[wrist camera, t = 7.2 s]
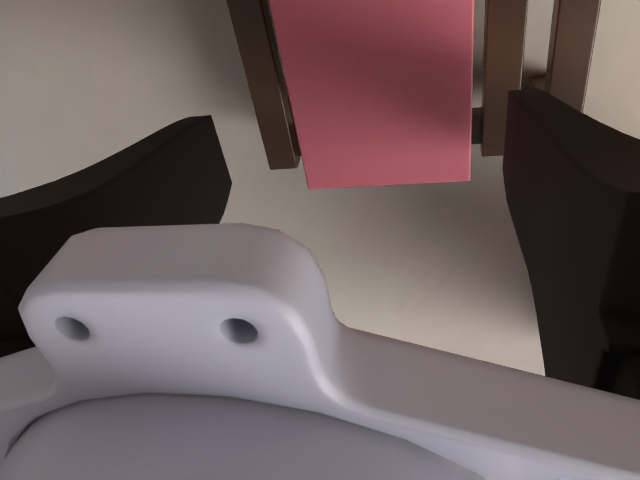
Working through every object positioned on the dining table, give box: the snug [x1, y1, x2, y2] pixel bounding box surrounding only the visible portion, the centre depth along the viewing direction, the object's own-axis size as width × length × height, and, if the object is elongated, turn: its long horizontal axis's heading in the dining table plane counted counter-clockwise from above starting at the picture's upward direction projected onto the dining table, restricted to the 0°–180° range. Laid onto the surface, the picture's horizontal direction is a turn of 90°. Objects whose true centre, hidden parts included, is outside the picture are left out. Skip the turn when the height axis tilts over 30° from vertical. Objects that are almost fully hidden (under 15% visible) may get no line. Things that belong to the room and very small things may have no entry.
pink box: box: [269, 0, 474, 189], centre depth 14 cm, size 6×4×6 cm
